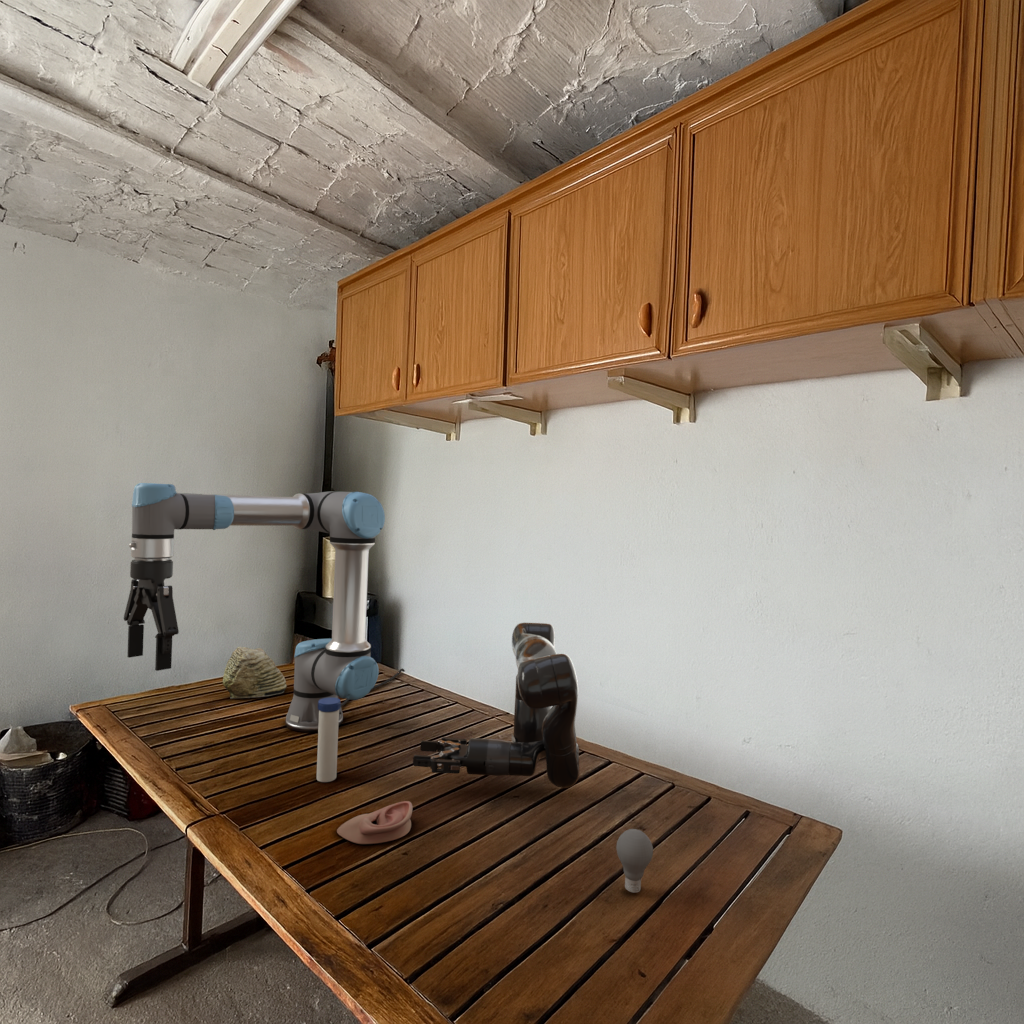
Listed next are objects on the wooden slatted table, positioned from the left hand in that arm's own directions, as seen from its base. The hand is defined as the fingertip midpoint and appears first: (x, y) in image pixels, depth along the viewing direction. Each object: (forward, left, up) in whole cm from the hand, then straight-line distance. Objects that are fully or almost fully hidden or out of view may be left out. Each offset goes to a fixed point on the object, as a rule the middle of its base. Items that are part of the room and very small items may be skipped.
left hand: (148, 662), depth 129 cm
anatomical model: (-24, +44, -28) cm, 57 cm away
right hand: (-43, +35, -21) cm, 59 cm away
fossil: (-50, -47, -28) cm, 74 cm away
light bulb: (-41, +90, -28) cm, 103 cm away
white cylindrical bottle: (-31, +18, -28) cm, 46 cm away
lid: (-31, +18, -11) cm, 38 cm away
